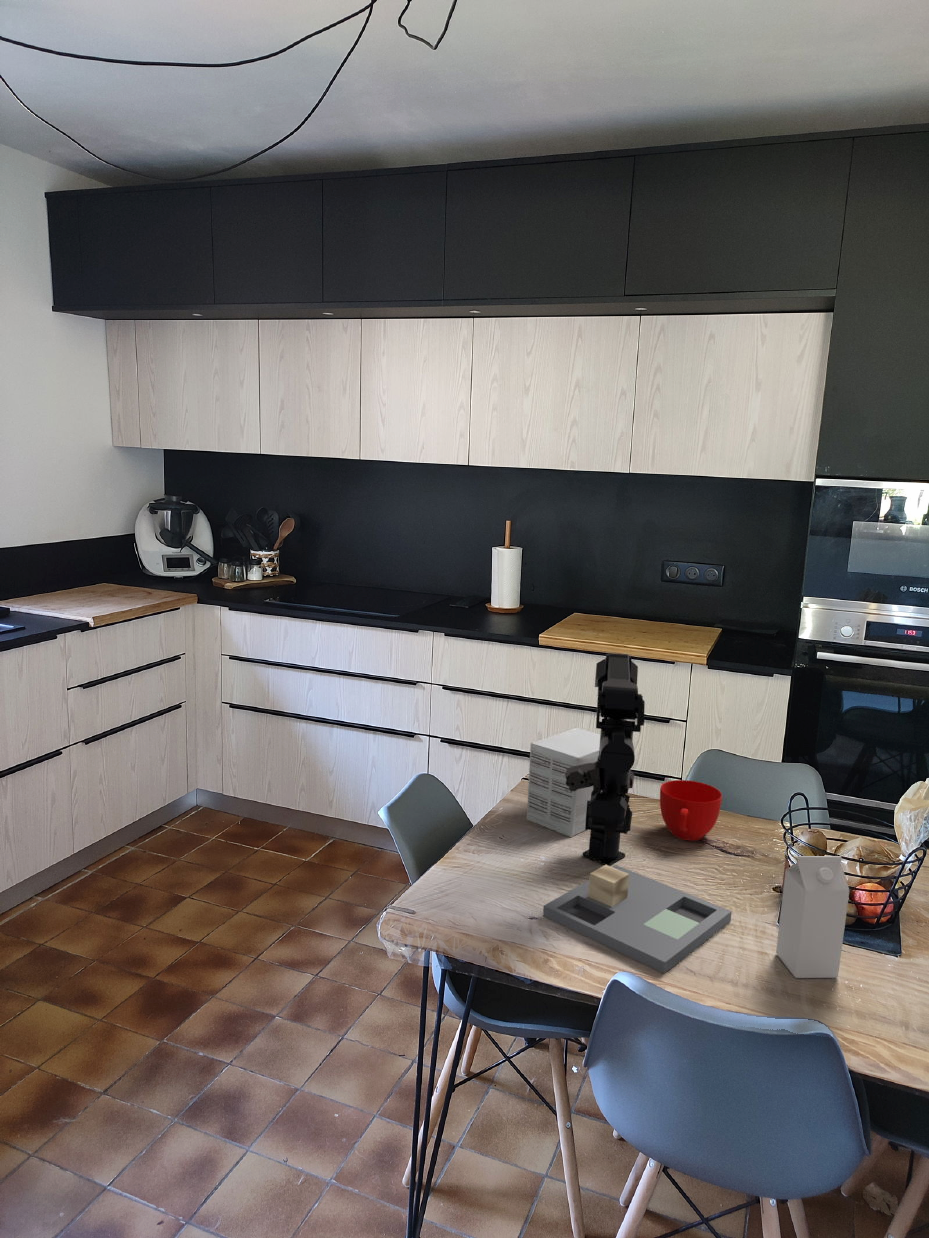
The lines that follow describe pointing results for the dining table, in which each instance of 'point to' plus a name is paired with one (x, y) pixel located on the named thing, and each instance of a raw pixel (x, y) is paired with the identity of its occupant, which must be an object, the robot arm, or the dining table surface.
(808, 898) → the milk carton
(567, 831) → the supplement box
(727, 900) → the dining table surface
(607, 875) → the maple block
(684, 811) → the ceramic cup
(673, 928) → the board
